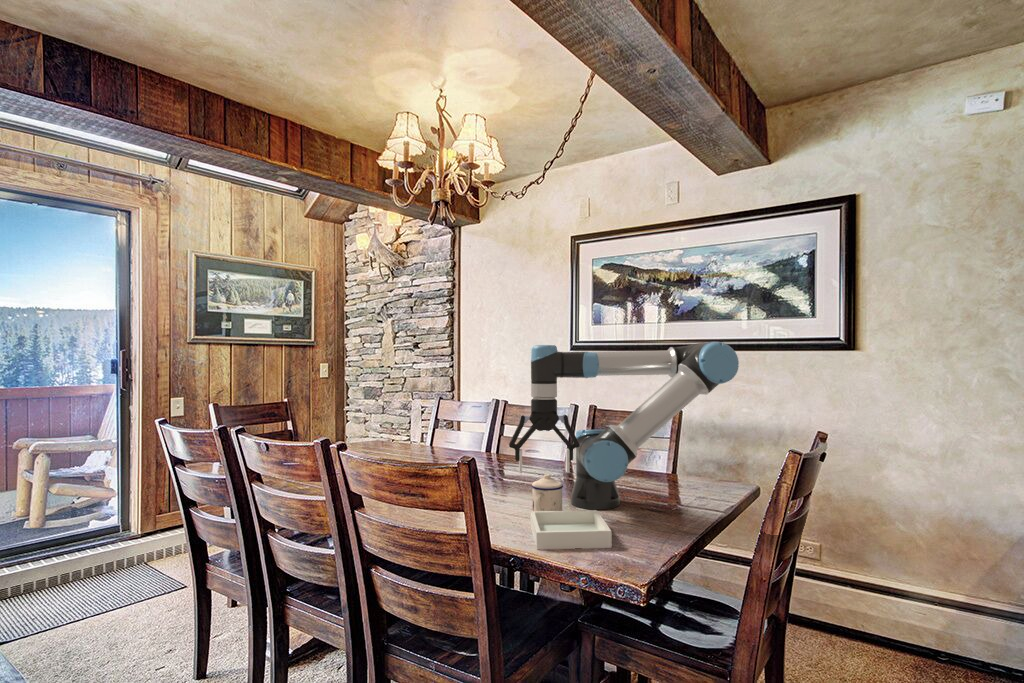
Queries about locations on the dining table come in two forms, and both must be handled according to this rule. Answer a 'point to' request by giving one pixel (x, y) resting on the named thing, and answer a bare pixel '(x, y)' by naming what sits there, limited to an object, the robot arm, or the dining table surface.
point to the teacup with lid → (547, 494)
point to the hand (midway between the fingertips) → (544, 472)
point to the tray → (570, 530)
